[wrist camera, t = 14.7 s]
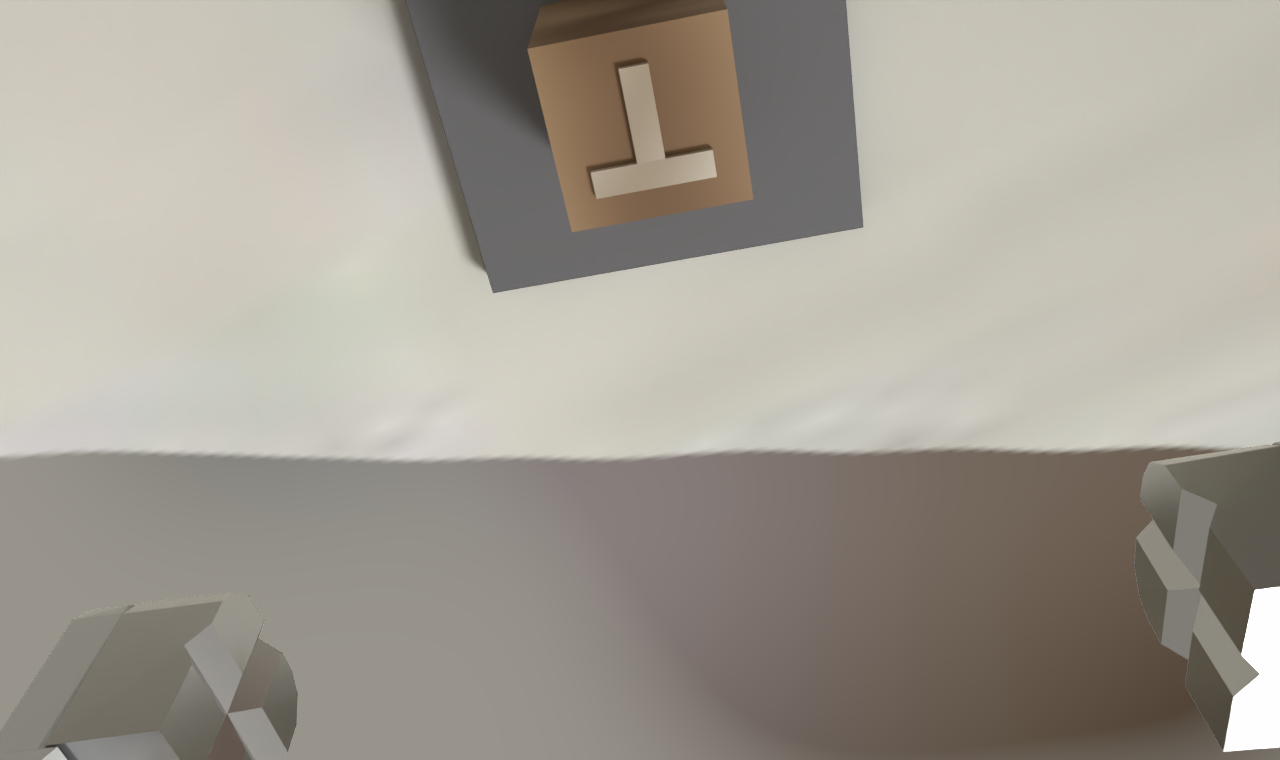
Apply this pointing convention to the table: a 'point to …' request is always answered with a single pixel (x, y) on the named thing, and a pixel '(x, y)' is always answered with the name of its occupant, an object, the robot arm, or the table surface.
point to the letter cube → (640, 107)
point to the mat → (550, 252)
